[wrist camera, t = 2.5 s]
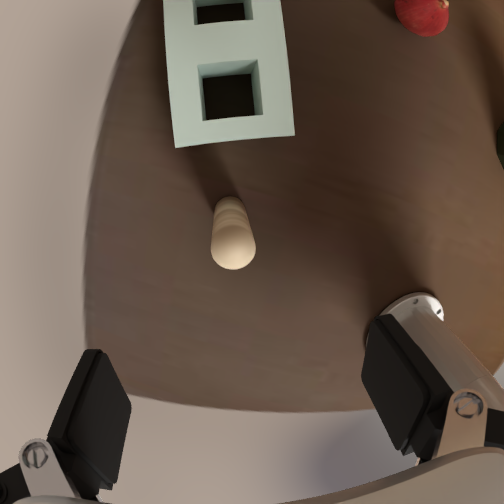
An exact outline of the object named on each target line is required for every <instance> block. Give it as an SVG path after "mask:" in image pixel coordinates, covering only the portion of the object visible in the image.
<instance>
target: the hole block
mask: <svg viewBox="0 0 504 504" xmlns="http://www.w3.org/2000/svg"><path fill="white" fill-rule="evenodd" d="M233 3H244V13H245V20H242V21H228V22H217V23H208V24H200V25H198V20H197V7H202V6H211V5H221V4H233ZM163 5H164V28H165V45H166V59H167V72H168V84H169V95H170V105H171V115H172V124H173V133H174V142H175V148H179V147H186V146H192V145H200V144H207V143H215V142H224V141H233V140H243V139H254V138H266V137H280V136H295V132H294V120H293V108H292V97H291V86H290V76H289V67H288V58H287V49H286V40H285V32H284V24H283V17H282V9H281V2H280V0H163ZM239 74H251V80H252V90H253V101H254V111H255V116H244V117H233V118H224V119H215V120H206V111H205V101H204V90H203V80H202V78H210V77H218V76H228V75H239Z"/></svg>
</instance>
